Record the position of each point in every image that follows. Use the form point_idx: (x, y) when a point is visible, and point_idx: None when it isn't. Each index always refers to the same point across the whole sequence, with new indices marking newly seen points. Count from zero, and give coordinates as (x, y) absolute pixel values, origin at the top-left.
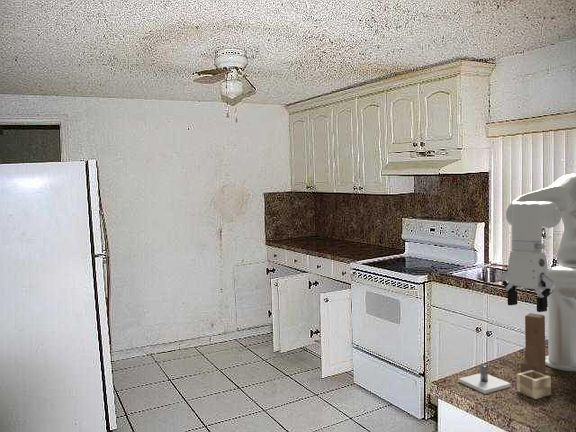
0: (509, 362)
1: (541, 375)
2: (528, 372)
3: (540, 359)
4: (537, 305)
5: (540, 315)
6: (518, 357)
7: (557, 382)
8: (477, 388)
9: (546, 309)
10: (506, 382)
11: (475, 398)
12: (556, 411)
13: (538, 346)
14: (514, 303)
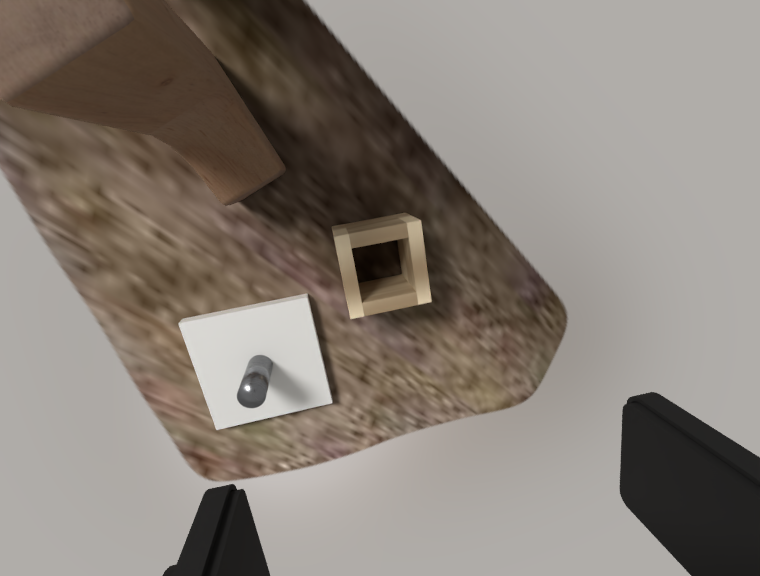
0: None
1: (392, 239)
2: (353, 269)
3: (240, 107)
4: (689, 558)
5: None
6: None
7: (321, 97)
8: (302, 407)
9: (661, 404)
10: (295, 305)
11: (351, 434)
12: (498, 285)
13: (209, 94)
14: (251, 537)
